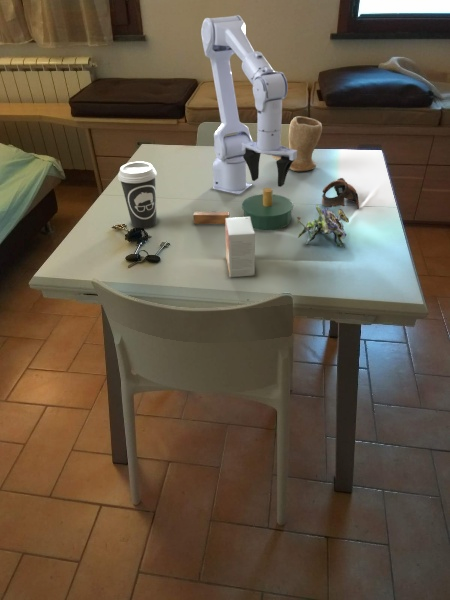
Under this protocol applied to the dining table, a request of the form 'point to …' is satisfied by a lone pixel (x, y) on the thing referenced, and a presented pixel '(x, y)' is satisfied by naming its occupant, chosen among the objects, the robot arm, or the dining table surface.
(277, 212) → the tin lid
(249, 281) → the dining table surface
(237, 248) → the small box
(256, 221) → the tin
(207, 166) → the dining table surface
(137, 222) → the coffee cup
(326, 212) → the passion flower
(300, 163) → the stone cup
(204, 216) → the stick
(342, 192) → the brown hollow shell
